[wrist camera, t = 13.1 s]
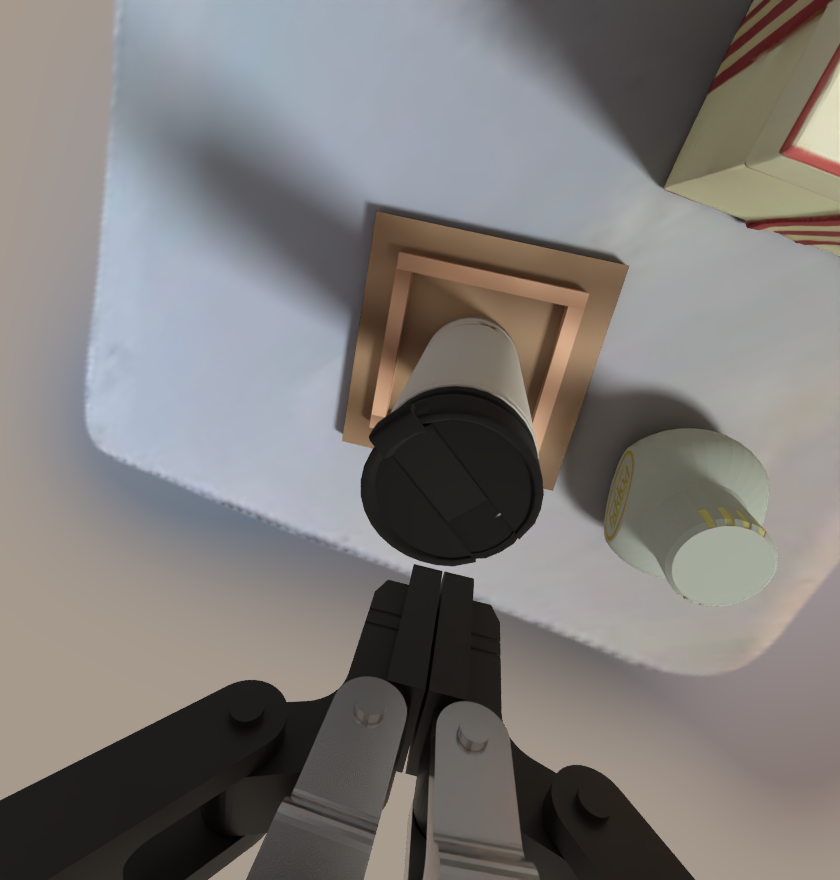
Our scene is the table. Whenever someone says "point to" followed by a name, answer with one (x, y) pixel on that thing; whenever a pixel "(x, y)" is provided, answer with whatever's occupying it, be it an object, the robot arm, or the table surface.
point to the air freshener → (693, 515)
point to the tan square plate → (489, 296)
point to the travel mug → (456, 451)
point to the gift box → (772, 126)
